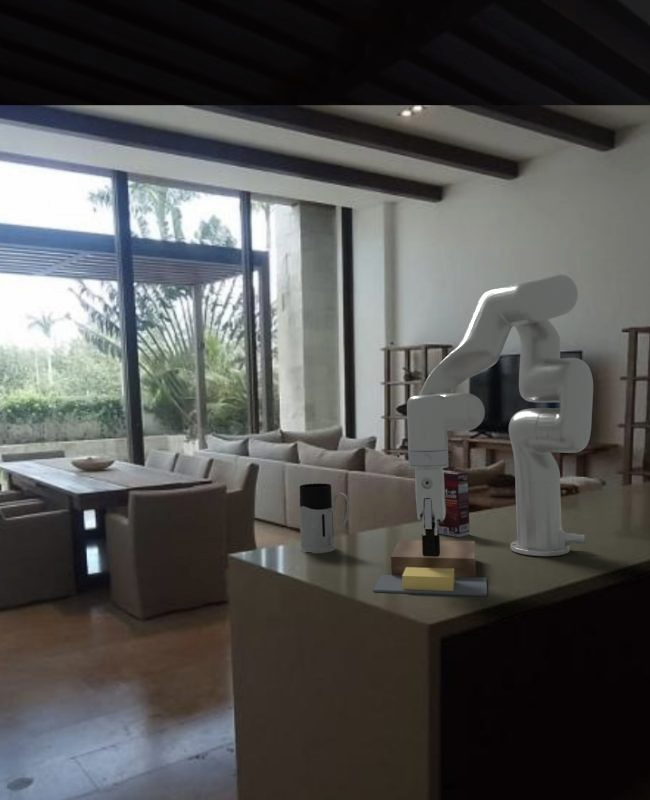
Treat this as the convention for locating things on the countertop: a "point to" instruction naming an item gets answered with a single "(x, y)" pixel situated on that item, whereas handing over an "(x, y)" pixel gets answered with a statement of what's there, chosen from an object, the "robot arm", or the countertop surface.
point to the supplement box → (455, 505)
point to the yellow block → (428, 578)
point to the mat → (460, 588)
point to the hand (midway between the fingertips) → (431, 555)
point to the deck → (451, 556)
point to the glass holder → (318, 518)
